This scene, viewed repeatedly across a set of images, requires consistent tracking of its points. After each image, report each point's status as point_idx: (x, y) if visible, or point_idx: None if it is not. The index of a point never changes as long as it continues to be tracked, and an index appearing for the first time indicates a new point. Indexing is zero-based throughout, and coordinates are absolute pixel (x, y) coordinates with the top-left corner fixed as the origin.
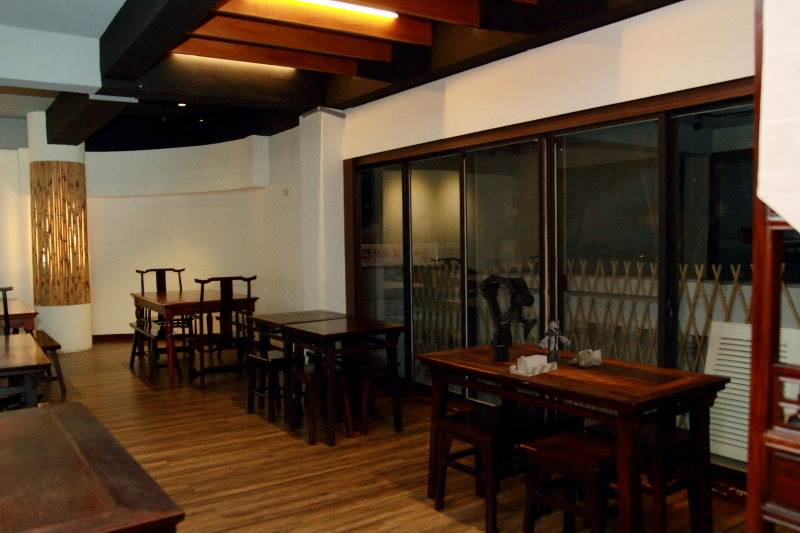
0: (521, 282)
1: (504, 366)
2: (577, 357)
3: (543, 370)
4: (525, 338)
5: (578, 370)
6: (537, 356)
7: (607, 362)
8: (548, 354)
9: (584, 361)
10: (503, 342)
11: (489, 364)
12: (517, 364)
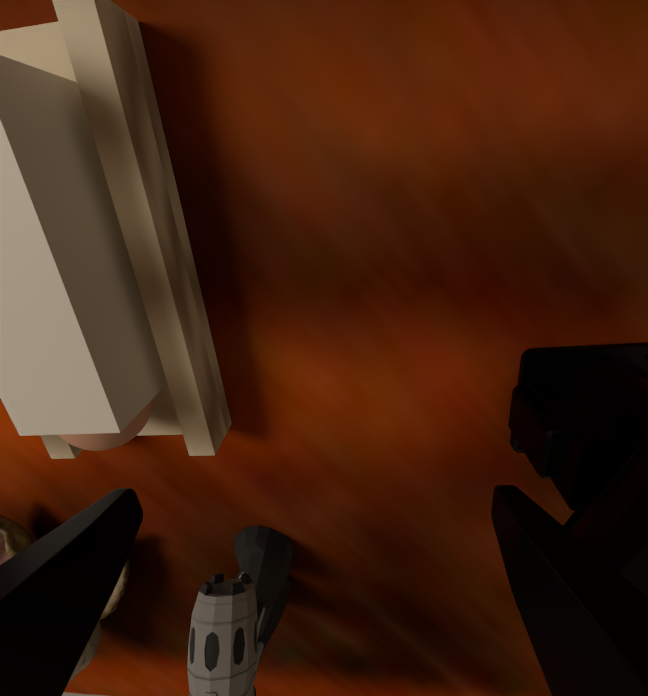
0: None
1: (398, 236)
2: None
3: None
4: (82, 524)
5: (6, 479)
6: (36, 368)
7: (111, 666)
8: (263, 588)
9: None
10: (621, 483)
11: (575, 196)
12: (126, 149)
